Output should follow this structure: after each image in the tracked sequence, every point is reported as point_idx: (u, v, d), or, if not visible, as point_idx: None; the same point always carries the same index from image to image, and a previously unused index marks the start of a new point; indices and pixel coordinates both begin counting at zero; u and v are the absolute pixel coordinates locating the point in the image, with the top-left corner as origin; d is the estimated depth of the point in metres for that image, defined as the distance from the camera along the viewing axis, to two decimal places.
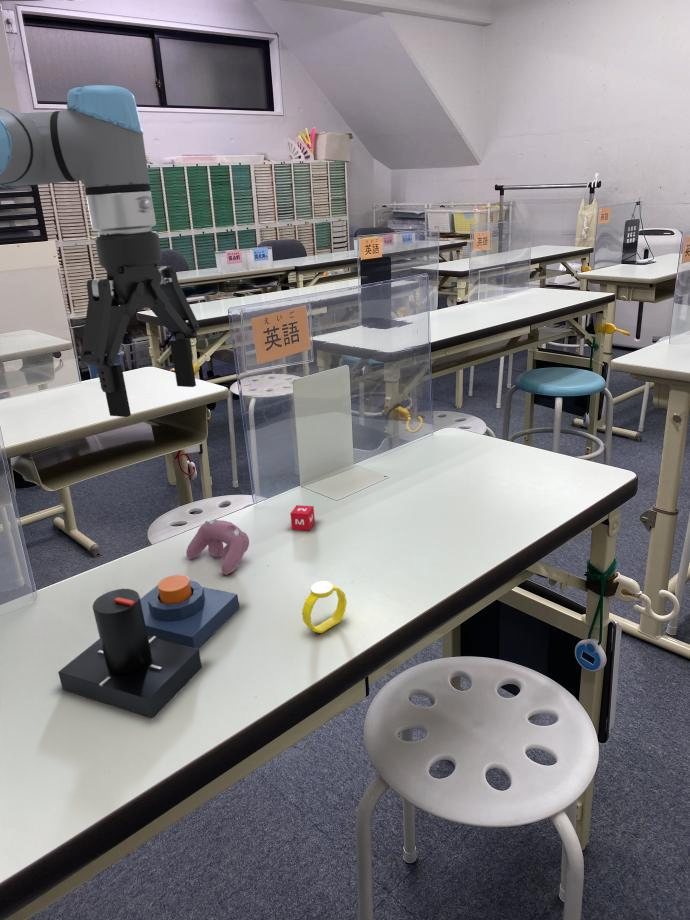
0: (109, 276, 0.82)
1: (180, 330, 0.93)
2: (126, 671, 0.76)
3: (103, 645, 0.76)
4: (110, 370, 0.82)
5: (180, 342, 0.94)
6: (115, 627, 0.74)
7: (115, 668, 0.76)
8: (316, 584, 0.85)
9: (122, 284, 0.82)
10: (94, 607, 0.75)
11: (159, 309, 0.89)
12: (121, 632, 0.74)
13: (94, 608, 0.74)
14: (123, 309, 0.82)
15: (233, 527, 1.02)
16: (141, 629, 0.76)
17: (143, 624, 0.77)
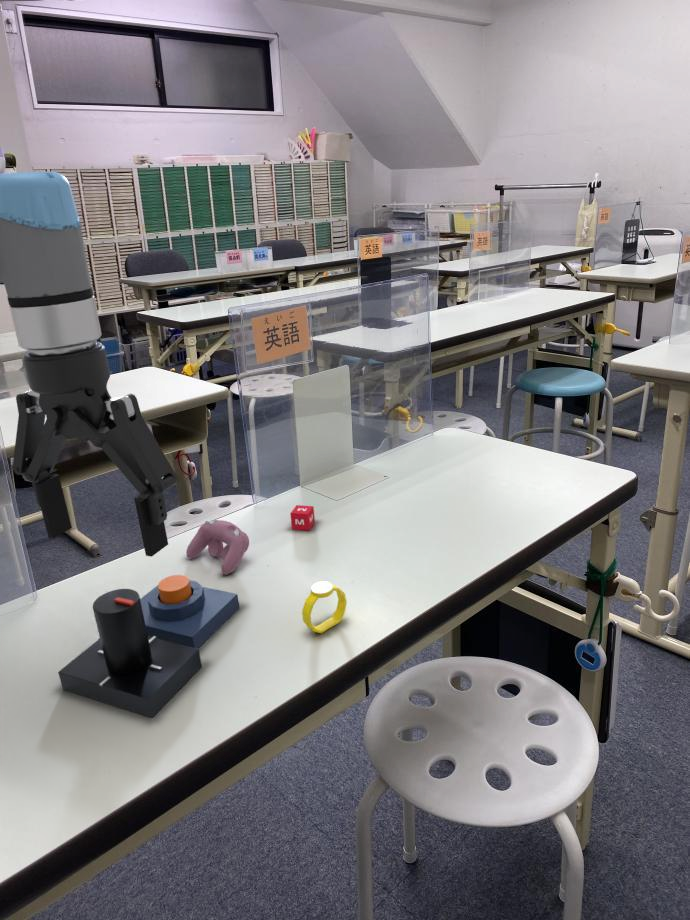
0: (99, 396, 0.66)
1: (53, 463, 0.74)
2: (126, 671, 0.76)
3: (103, 645, 0.76)
4: None
5: (52, 480, 0.74)
6: (115, 627, 0.74)
7: (115, 668, 0.76)
8: (316, 584, 0.85)
9: None
10: (94, 607, 0.75)
11: (61, 439, 0.71)
12: (121, 632, 0.74)
13: (94, 608, 0.74)
14: (119, 430, 0.68)
15: (233, 527, 1.02)
16: (141, 629, 0.76)
17: (143, 624, 0.77)
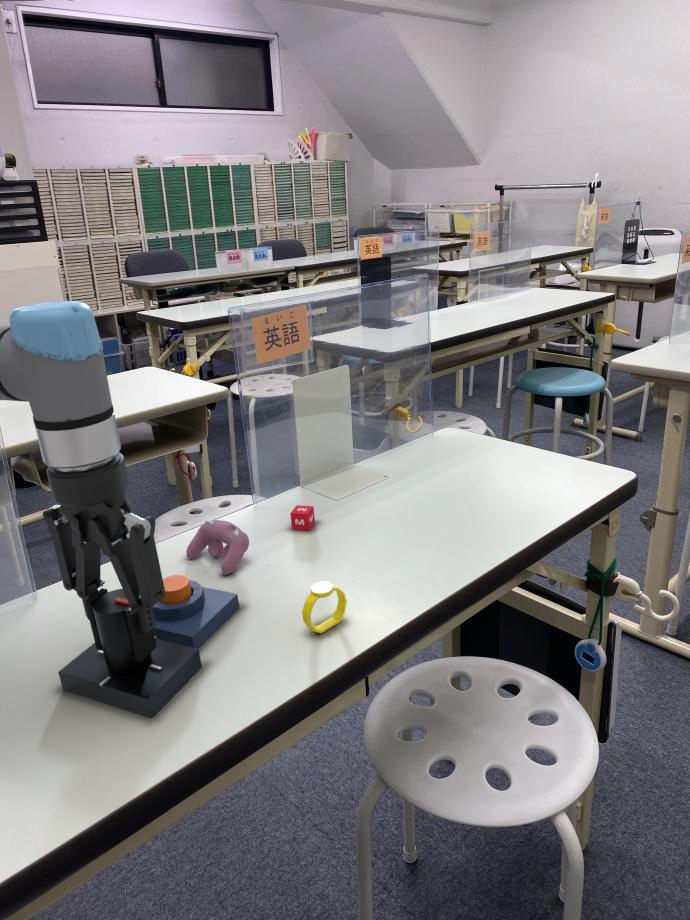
0: (118, 507, 0.69)
1: (98, 574, 0.77)
2: (126, 671, 0.76)
3: (103, 645, 0.76)
4: None
5: None
6: (115, 627, 0.74)
7: (115, 668, 0.76)
8: (316, 584, 0.85)
9: None
10: (94, 607, 0.75)
11: (94, 546, 0.74)
12: (121, 632, 0.74)
13: (94, 608, 0.74)
14: (129, 541, 0.73)
15: (233, 527, 1.02)
16: None
17: None
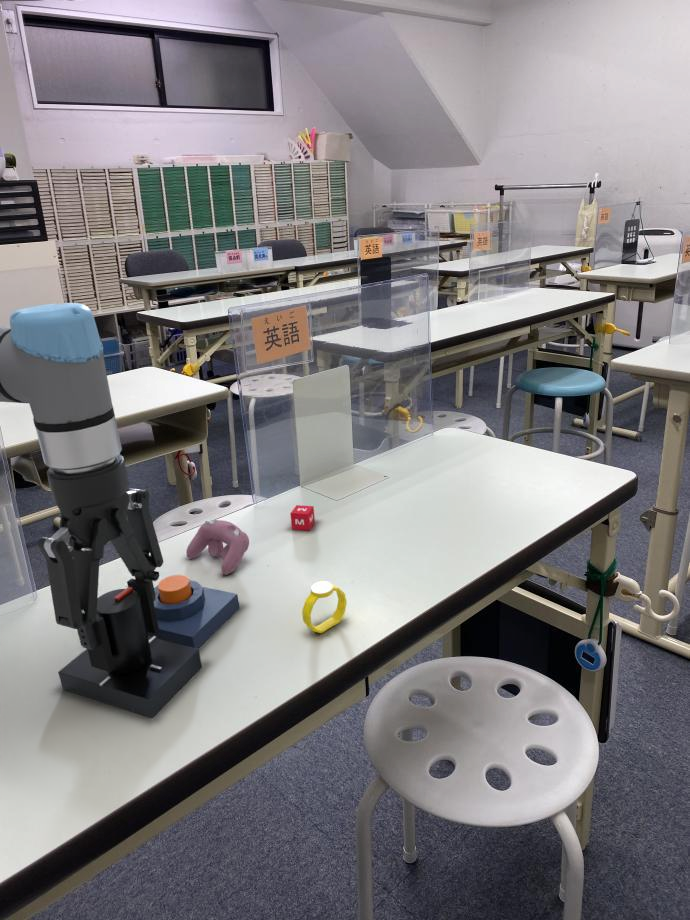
0: None
1: None
2: (150, 653, 0.79)
3: (135, 643, 0.76)
4: None
5: None
6: (142, 611, 0.77)
7: (147, 657, 0.78)
8: (316, 584, 0.85)
9: None
10: (120, 610, 0.74)
11: None
12: None
13: (122, 610, 0.74)
14: None
15: (233, 527, 1.02)
16: None
17: None
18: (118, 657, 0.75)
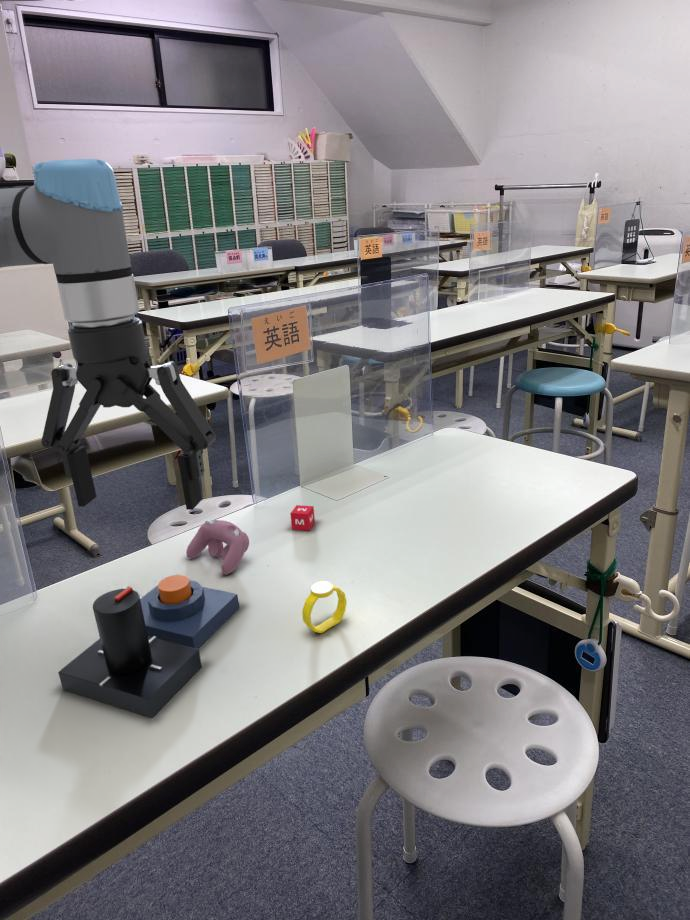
0: (142, 365, 0.72)
1: (82, 435, 0.79)
2: (150, 653, 0.79)
3: (135, 643, 0.76)
4: None
5: (81, 450, 0.79)
6: (142, 611, 0.77)
7: (147, 657, 0.78)
8: (316, 584, 0.85)
9: None
10: (120, 610, 0.74)
11: (94, 410, 0.76)
12: None
13: (122, 610, 0.74)
14: (156, 396, 0.75)
15: (233, 527, 1.02)
16: None
17: None
18: (118, 657, 0.75)
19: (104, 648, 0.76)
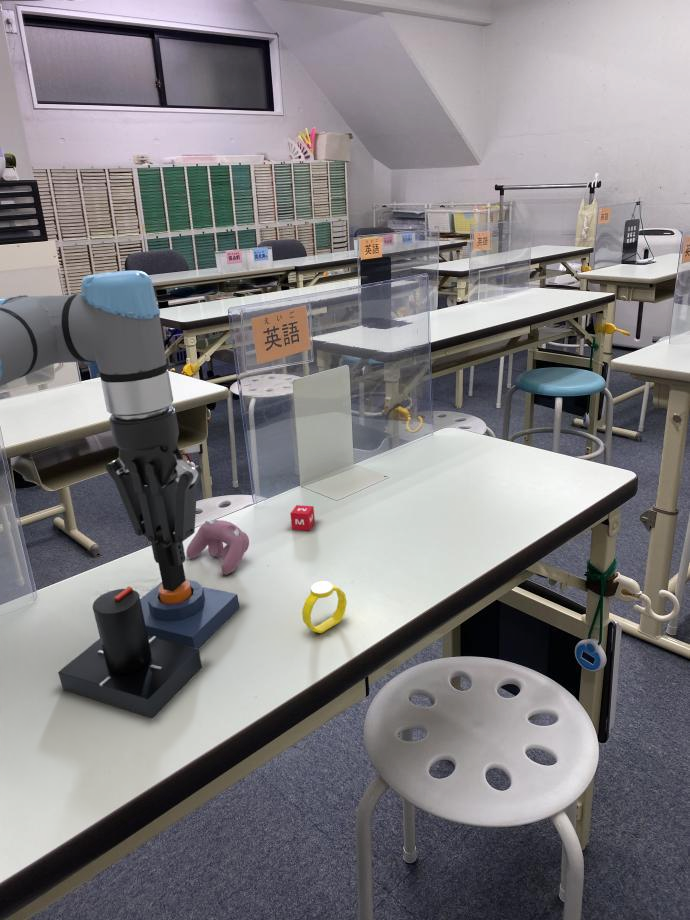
0: (172, 452, 0.79)
1: None
2: (150, 653, 0.79)
3: (135, 643, 0.76)
4: None
5: None
6: (142, 611, 0.77)
7: (147, 657, 0.78)
8: (316, 584, 0.85)
9: None
10: (120, 610, 0.74)
11: None
12: None
13: (122, 610, 0.74)
14: (173, 485, 0.83)
15: (233, 527, 1.02)
16: None
17: None
18: (118, 657, 0.75)
19: (104, 648, 0.76)
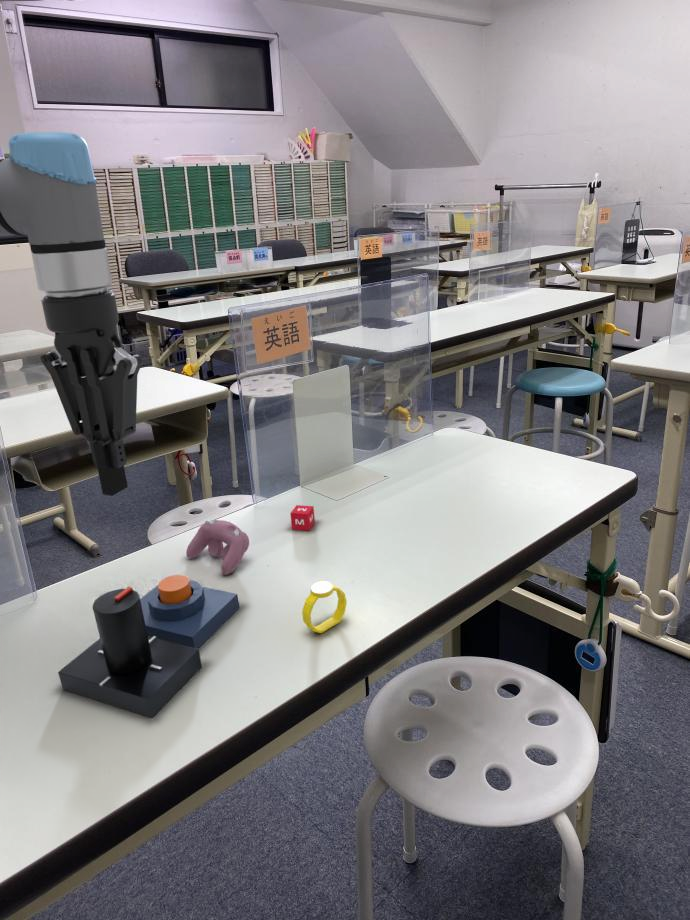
0: (109, 337, 0.74)
1: None
2: (150, 653, 0.79)
3: (135, 643, 0.76)
4: None
5: None
6: (142, 611, 0.77)
7: (147, 657, 0.78)
8: (316, 584, 0.85)
9: None
10: (120, 610, 0.74)
11: None
12: None
13: (122, 610, 0.74)
14: (113, 378, 0.78)
15: (233, 527, 1.02)
16: None
17: None
18: (118, 657, 0.75)
19: (104, 648, 0.76)
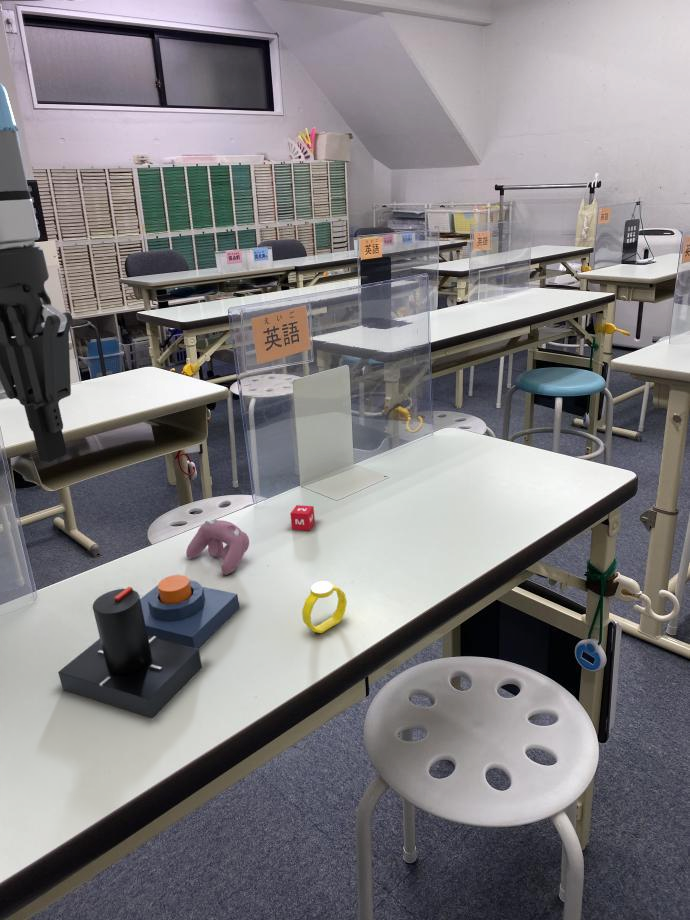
0: (36, 293, 0.71)
1: None
2: (150, 653, 0.79)
3: (135, 643, 0.76)
4: None
5: None
6: (142, 611, 0.77)
7: (147, 657, 0.78)
8: (316, 584, 0.85)
9: None
10: (120, 610, 0.74)
11: None
12: None
13: (122, 610, 0.74)
14: None
15: (233, 527, 1.02)
16: None
17: None
18: (118, 657, 0.75)
19: (104, 648, 0.76)
